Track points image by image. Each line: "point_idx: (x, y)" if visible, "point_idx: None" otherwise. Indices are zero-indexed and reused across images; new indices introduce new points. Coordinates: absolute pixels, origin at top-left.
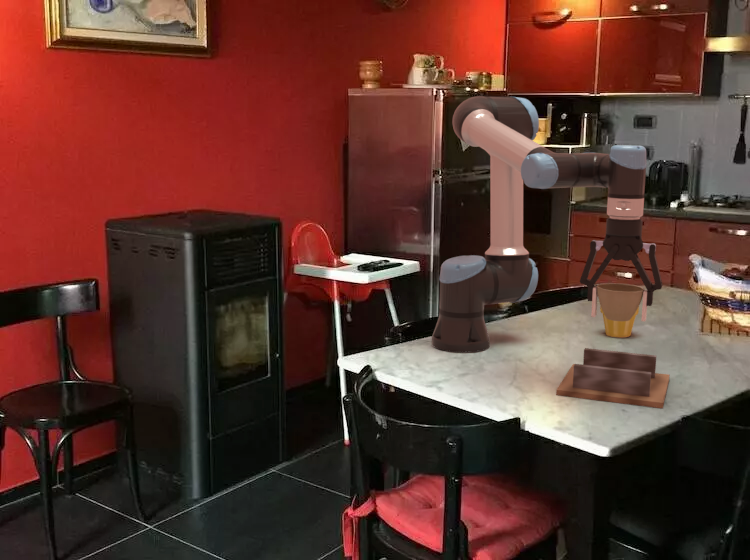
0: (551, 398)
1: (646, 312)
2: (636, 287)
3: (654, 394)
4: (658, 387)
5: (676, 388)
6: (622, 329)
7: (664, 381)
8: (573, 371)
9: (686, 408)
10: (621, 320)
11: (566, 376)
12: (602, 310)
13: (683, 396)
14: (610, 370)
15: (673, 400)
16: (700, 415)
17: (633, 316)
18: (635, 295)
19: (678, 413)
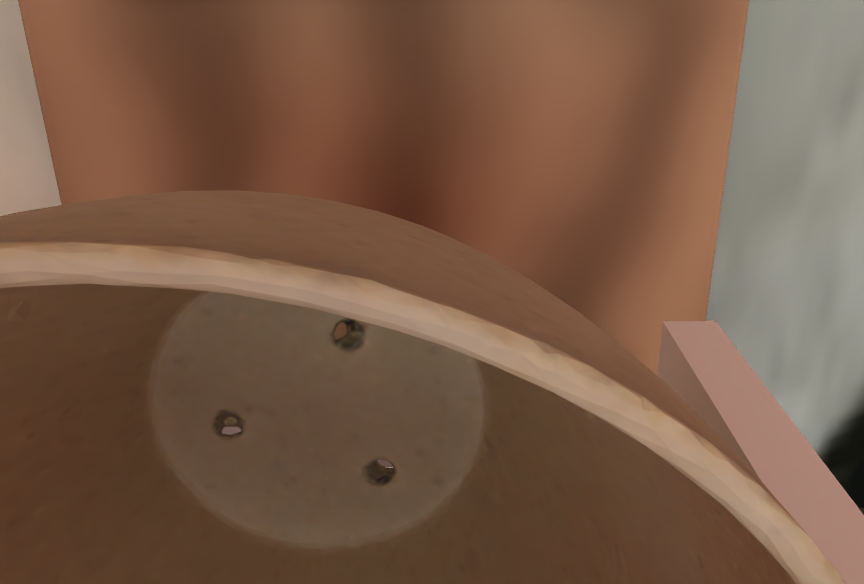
0: None
1: (752, 377)
2: (669, 455)
3: (645, 330)
4: (674, 177)
5: (793, 9)
6: None
7: (723, 8)
8: (61, 31)
9: (804, 384)
10: (390, 530)
11: (66, 182)
12: (67, 513)
13: (817, 176)
14: (382, 464)
15: (747, 278)
16: (860, 459)
17: None
18: None
19: None
